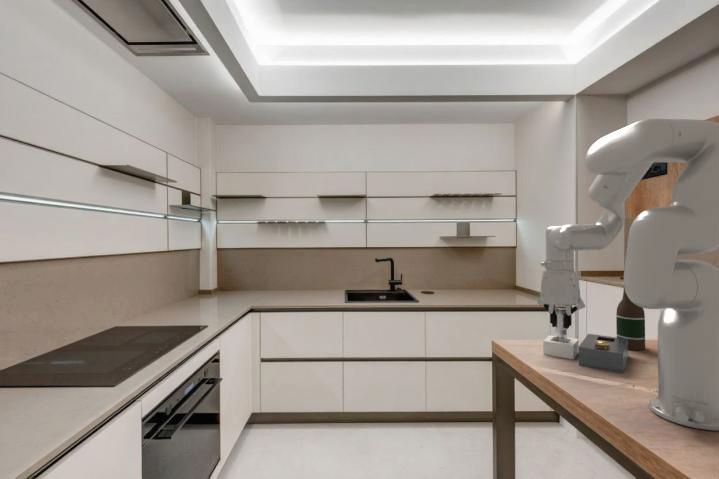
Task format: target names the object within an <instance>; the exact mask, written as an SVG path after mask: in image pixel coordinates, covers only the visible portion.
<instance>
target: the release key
mask: <svg viewBox="0 0 719 479" xmlns="http://www.w3.org/2000/svg"><path fill="white" fill-rule="evenodd" d="M594 345H597V348H604V349H607V347H609V346H610V343H609V342H607V341H602V340H595V341H594Z"/></svg>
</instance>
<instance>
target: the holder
mask: <svg viewBox="0 0 719 479" xmlns="http://www.w3.org/2000/svg"><path fill="white" fill-rule="evenodd" d="M542 344H543V345H542V346H543V349H542V351H543V352H542V353H543V355H546V356H552V357H558V358H564V359H569V360H574V359H575V358H576V357H577V355H579V346H580V345H579V338H572V337H567V343H563V342H556V341H555V335H552V334H549V335H548V336H547V337H546V338H545V339H543V341H542Z"/></svg>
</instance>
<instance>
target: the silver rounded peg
mask: <svg viewBox="0 0 719 479" xmlns="http://www.w3.org/2000/svg"><path fill="white" fill-rule="evenodd" d="M565 315H566V308H562V307H555V327H554V328H555V330H554V331H555V332H554V333H555V335H554V336H555V341H556V342H563V343H567V338H568V336H567V334H568V332H567V329H566V328H565Z"/></svg>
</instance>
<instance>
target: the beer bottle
mask: <svg viewBox="0 0 719 479" xmlns="http://www.w3.org/2000/svg"><path fill="white" fill-rule="evenodd" d="M622 279H624V275H623V276H622ZM615 315H616V317H615V318H616V319H615V320H616V337H617V338H624V339H628V351H632V352H633V351H634V352H640V351H641V352H644V351H646V315H645V308H642V307H639V306H637V305H635V304H634V303H633V302H632V301H631V300H630V299H629V298H628V296H627V294H626V292H625V289H624V288H623V294H622V299H621V300H620V302H618V305H617V307H616V314H615Z"/></svg>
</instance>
